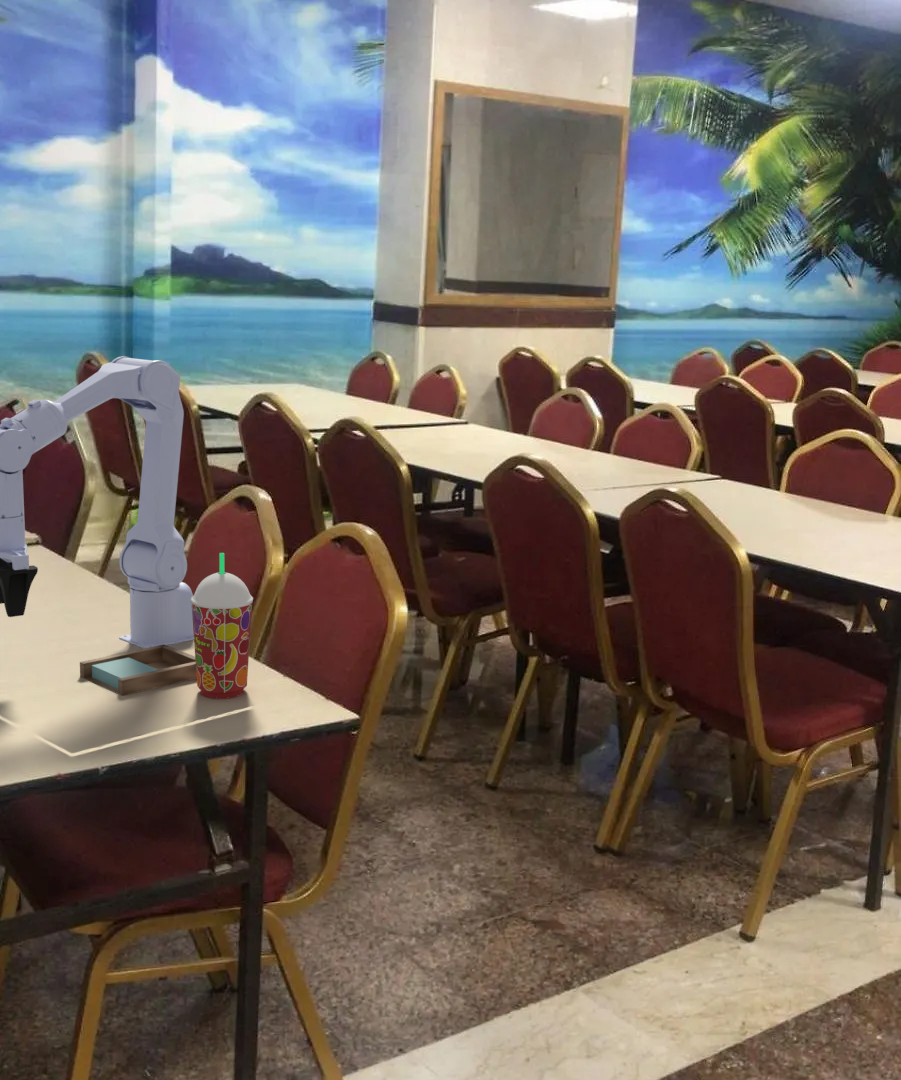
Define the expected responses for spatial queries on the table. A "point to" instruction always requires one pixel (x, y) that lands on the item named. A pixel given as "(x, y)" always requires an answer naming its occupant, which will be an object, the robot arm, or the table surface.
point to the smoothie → (221, 634)
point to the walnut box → (161, 657)
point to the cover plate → (118, 670)
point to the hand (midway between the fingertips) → (6, 609)
